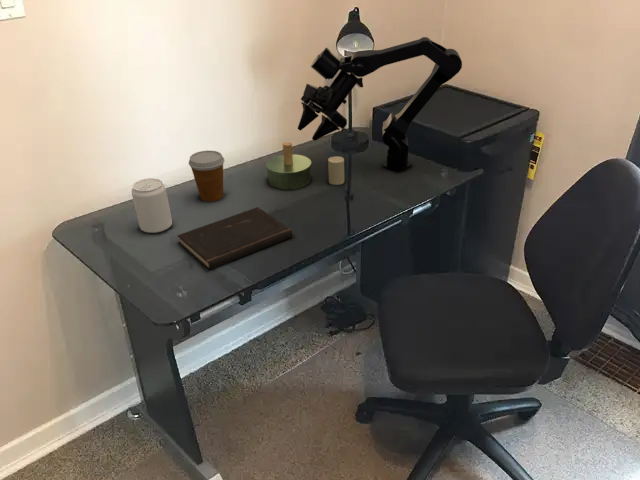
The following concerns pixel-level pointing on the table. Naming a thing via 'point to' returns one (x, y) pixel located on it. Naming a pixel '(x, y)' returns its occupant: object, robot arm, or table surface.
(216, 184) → the disposable coffee cup
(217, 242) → the hardcover book
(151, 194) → the beverage can
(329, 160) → the candle
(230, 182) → the table surface
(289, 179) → the tin
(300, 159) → the lid
